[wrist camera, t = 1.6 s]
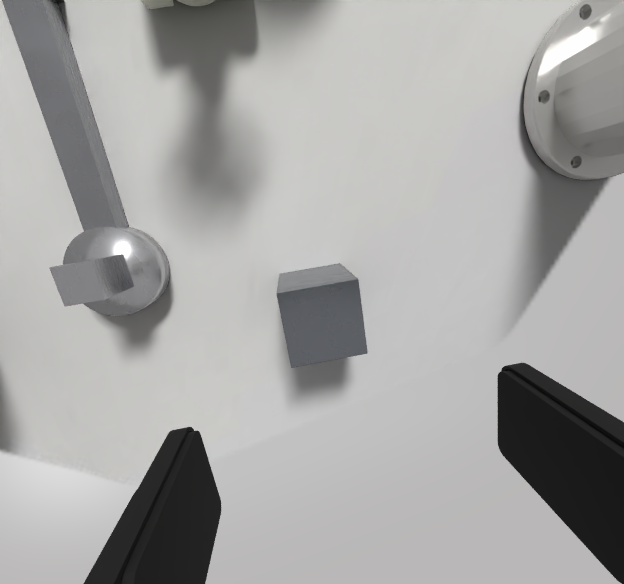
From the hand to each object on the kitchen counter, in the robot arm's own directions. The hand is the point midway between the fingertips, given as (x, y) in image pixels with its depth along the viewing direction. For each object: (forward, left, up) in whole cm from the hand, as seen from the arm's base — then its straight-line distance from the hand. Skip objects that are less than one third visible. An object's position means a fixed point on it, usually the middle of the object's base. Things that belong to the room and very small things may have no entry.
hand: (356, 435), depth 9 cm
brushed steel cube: (0, 0, -16) cm, 16 cm away
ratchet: (+14, -16, -16) cm, 27 cm away
